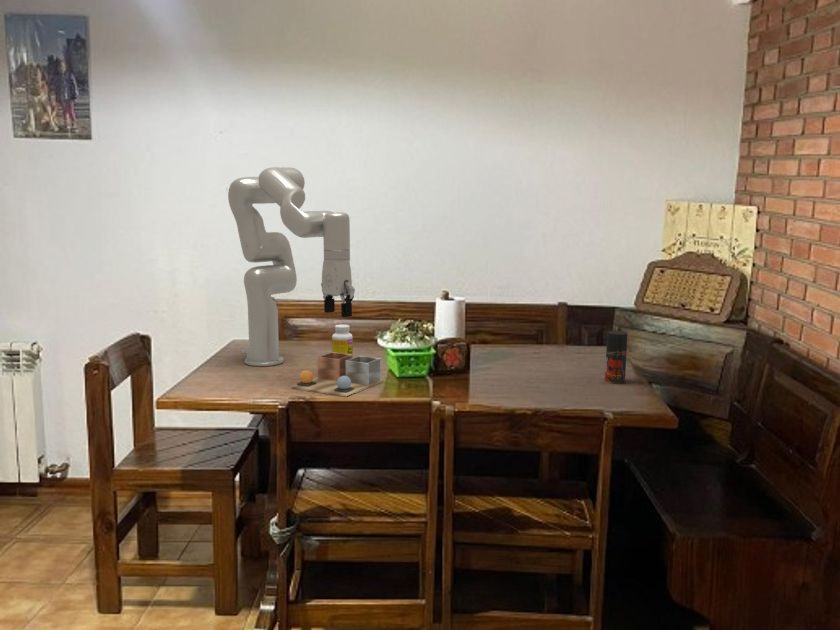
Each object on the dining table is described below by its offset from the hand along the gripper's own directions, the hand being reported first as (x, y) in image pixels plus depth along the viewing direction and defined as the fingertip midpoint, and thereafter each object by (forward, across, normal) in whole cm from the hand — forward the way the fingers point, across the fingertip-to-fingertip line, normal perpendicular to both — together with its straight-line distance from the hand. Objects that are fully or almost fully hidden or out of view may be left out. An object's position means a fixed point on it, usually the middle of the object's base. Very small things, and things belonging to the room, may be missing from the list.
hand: (337, 314), depth 237 cm
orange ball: (+18, -3, -9) cm, 20 cm away
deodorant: (+22, +44, +70) cm, 86 cm away
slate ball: (+18, +9, -4) cm, 20 cm away
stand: (+21, +1, -1) cm, 21 cm away
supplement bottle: (+21, -20, +13) cm, 32 cm away
